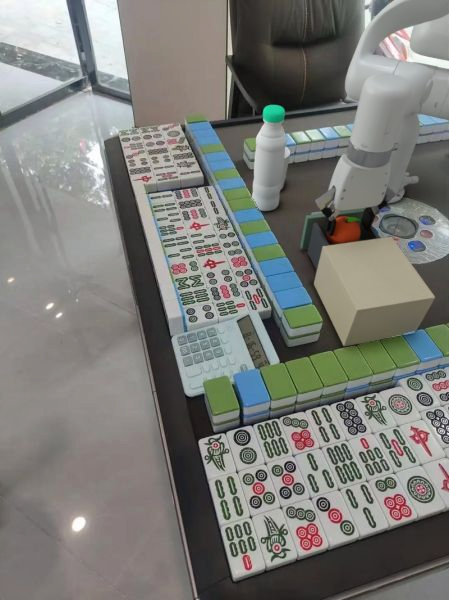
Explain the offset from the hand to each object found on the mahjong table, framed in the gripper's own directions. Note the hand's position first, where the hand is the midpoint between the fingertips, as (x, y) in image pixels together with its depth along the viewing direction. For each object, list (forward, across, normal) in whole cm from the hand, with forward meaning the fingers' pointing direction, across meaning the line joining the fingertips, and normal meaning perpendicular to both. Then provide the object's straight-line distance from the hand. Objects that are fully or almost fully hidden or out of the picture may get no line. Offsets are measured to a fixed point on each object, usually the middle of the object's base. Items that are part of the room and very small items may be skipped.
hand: (346, 228), depth 90 cm
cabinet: (+10, 0, +14) cm, 17 cm away
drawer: (+9, 0, 0) cm, 9 cm away
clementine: (+5, 0, 0) cm, 5 cm away
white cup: (+10, +6, -32) cm, 35 cm away
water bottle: (+10, +10, -24) cm, 28 cm away
